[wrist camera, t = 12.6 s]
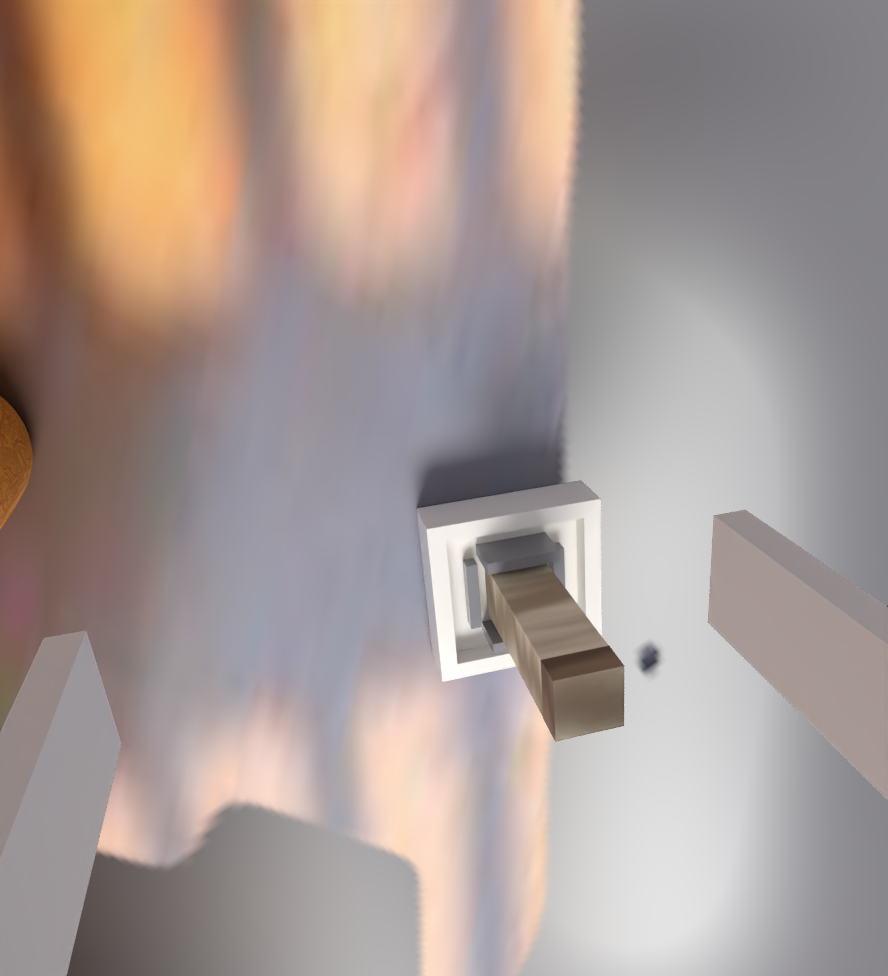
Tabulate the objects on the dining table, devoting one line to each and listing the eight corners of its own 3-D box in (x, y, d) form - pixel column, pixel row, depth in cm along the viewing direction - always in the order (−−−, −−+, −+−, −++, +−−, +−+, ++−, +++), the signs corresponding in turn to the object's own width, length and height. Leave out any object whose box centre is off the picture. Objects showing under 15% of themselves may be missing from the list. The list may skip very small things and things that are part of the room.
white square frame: (416, 508, 54) (431, 539, 49) (580, 480, 56) (609, 507, 51) (432, 654, 58) (447, 694, 54) (583, 623, 60) (610, 659, 56)
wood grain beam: (483, 562, 54) (552, 681, 41) (539, 552, 55) (624, 665, 42) (487, 612, 56) (555, 741, 43) (541, 601, 56) (623, 725, 44)
